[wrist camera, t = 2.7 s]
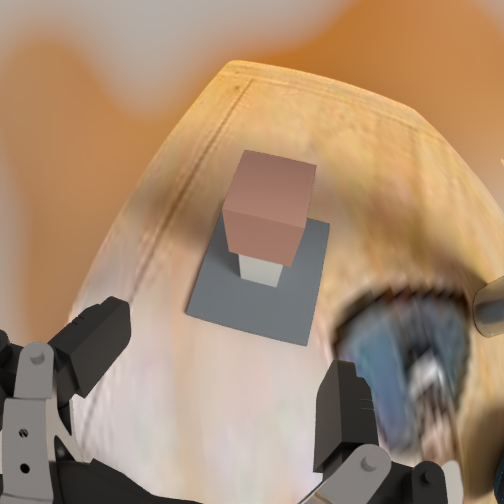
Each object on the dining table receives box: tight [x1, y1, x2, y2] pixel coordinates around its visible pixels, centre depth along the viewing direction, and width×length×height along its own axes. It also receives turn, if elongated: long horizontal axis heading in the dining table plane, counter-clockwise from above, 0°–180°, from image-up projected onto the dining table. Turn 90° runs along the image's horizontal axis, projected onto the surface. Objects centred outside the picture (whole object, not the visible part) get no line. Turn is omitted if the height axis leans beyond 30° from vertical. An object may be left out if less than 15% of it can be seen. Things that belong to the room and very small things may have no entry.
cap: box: [222, 150, 317, 267], centre depth 25 cm, size 6×6×8 cm
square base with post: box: [186, 211, 330, 346], centre depth 31 cm, size 18×16×18 cm
